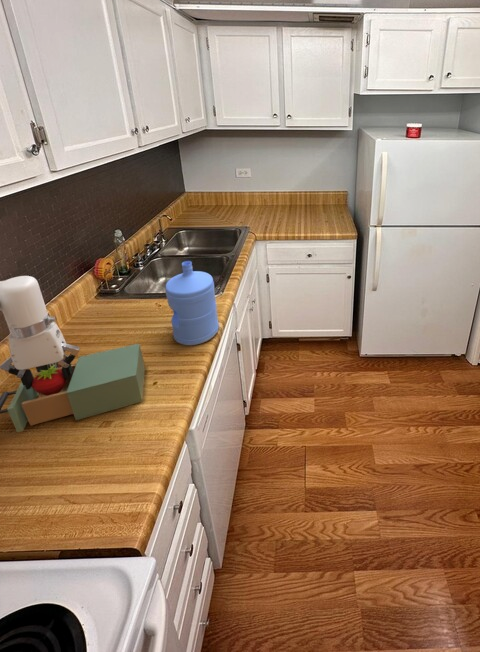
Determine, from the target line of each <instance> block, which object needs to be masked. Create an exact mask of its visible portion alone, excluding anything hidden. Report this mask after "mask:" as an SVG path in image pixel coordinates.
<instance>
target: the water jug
mask: <svg viewBox="0 0 480 652" xmlns="http://www.w3.org/2000/svg"><path fill="white" fill-rule="evenodd" d="M192 264H193V261H191V260H185V261H183V262H181V266H182V273H179V274H176V275H175V276H173V277H171V278H170V279H168V281H166V283H165V297H166V300H167V305H168V306H169V308H170V309H172V312H173V313H172V316H171V321H170V322H171V328H172V336H173V339H174V340H175V342H177V343H178V344H179V345H184V346H196V345H201V344H204V343H206V342H208V341H209V340H211V339H213V338H214V337H215V335H217V333H218V331H219V329H220V324H219V320H218V319H219V317H218V307H217V300H216V292H215V282H214V278H213V276H212V275H211V274H210V273H208V272H205V271H200V270H195V271H194V270H193V268H194V267H193V265H192Z"/></svg>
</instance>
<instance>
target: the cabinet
mask: <svg viewBox="0 0 480 652" xmlns="http://www.w3.org/2000/svg"><path fill="white" fill-rule="evenodd" d="M75 364H76V367H75V370H74V373H73V375H72V378H71V381H70V384H69V387H68V390H67V396H68V399H69V402H70V405H71V408H72V411H73V413H74V414H73V416H74V419H75V421H79V420H82V419H86V418H90V417H94V416H96V415H100V414H104V413H106V412H110V411H114V410H118V409H121V408H125V407H128V406H131V405H135V404H139V403H142V402H143V395H144V385H145V384H144V383H145V372H146V366H145V362H144V357H143V353H142V349H141V344H140V343H139V342H138V343H134V344H129V345H125V346H121V347H117V348H116V347H115V348H112V349H108V350H104V351H99V352H94V353H90V354H86V355H81V356H79V357H78V358H77V361H76V363H75Z"/></svg>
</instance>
